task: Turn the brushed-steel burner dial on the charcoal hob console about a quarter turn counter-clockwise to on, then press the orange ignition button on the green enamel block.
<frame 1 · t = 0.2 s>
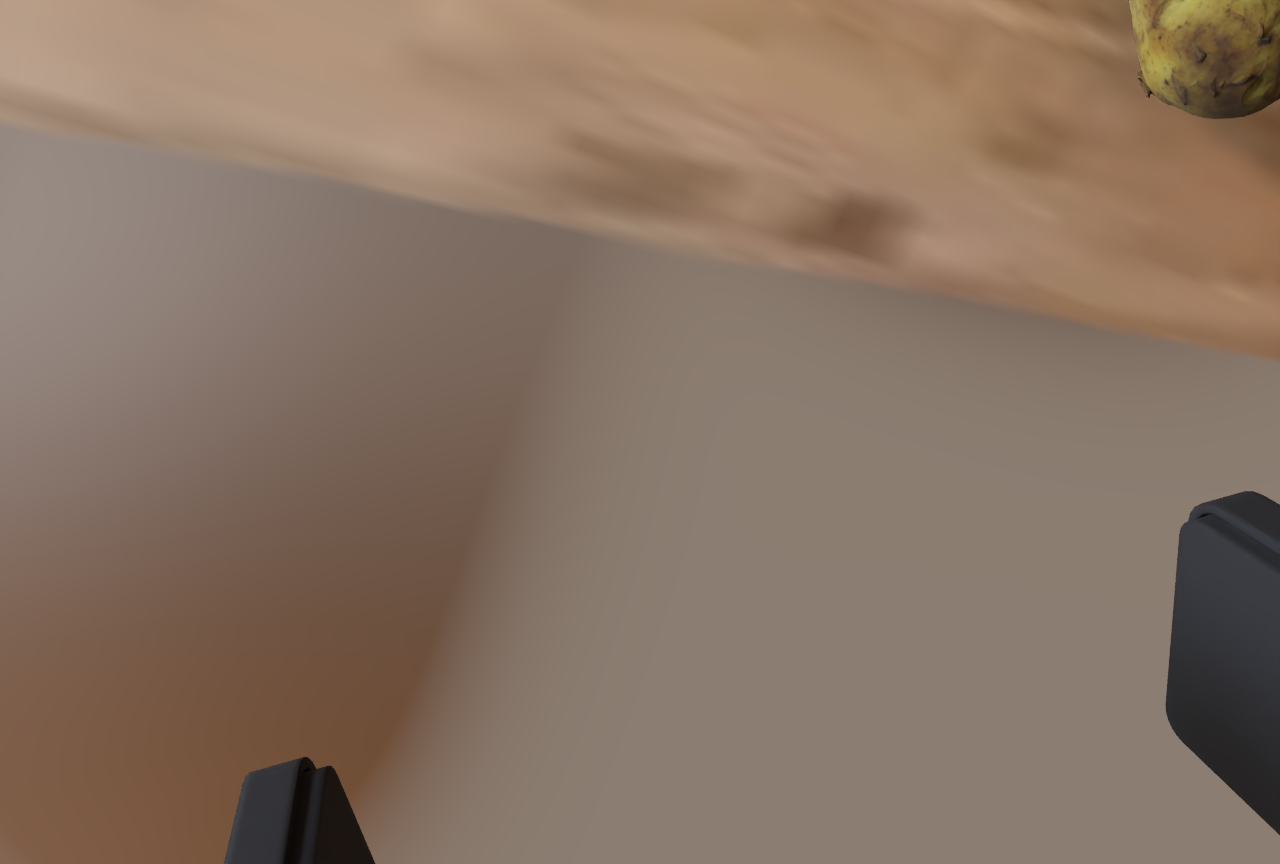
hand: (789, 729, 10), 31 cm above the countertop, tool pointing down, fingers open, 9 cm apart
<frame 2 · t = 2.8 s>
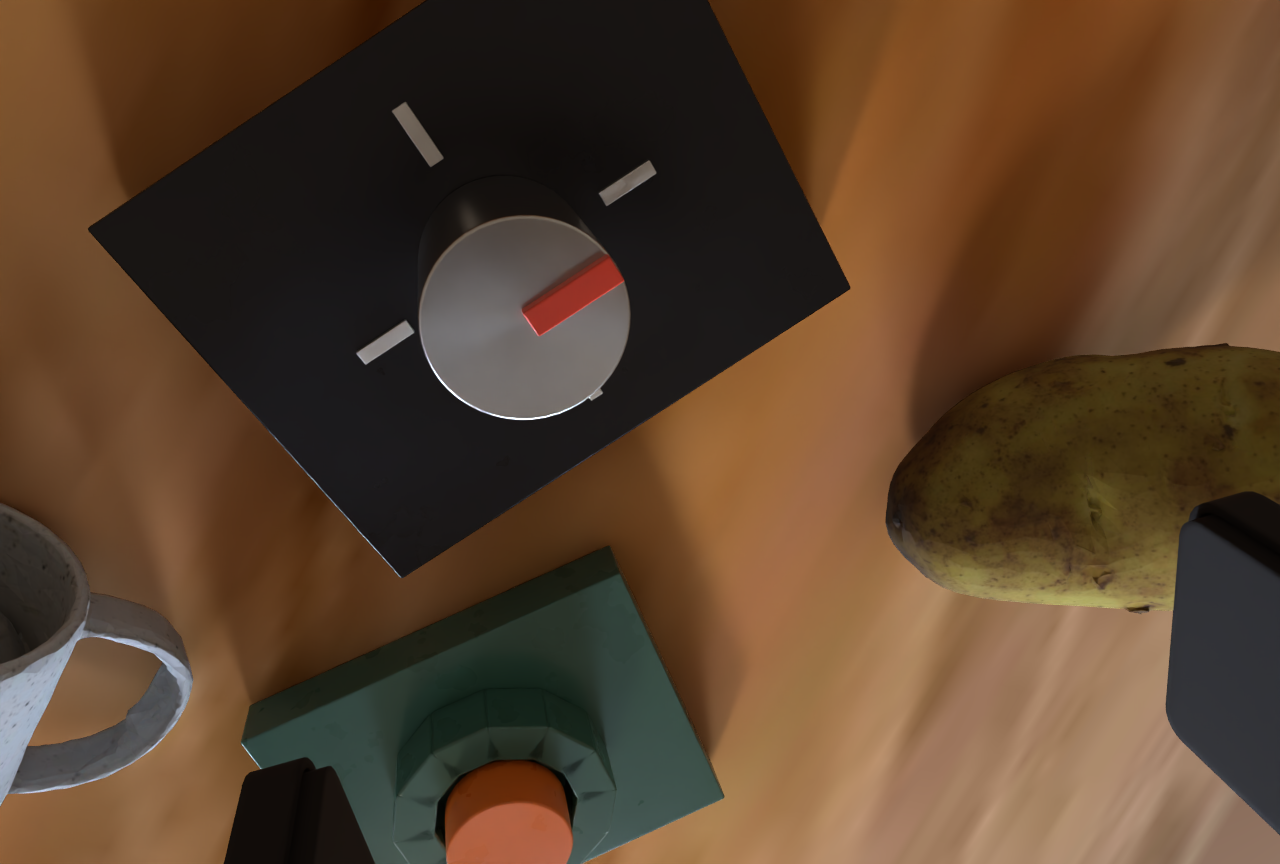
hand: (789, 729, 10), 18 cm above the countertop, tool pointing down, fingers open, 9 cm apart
hob console: (496, 236, 25), on the countertop
potato: (1048, 426, 31), on the countertop
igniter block: (498, 736, 31), on the countertop
ignite button: (508, 827, 28), point 4 cm above the countertop, slide at 0.1 cm
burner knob: (515, 290, 20), point 6 cm above the countertop, hinge at 0.0°
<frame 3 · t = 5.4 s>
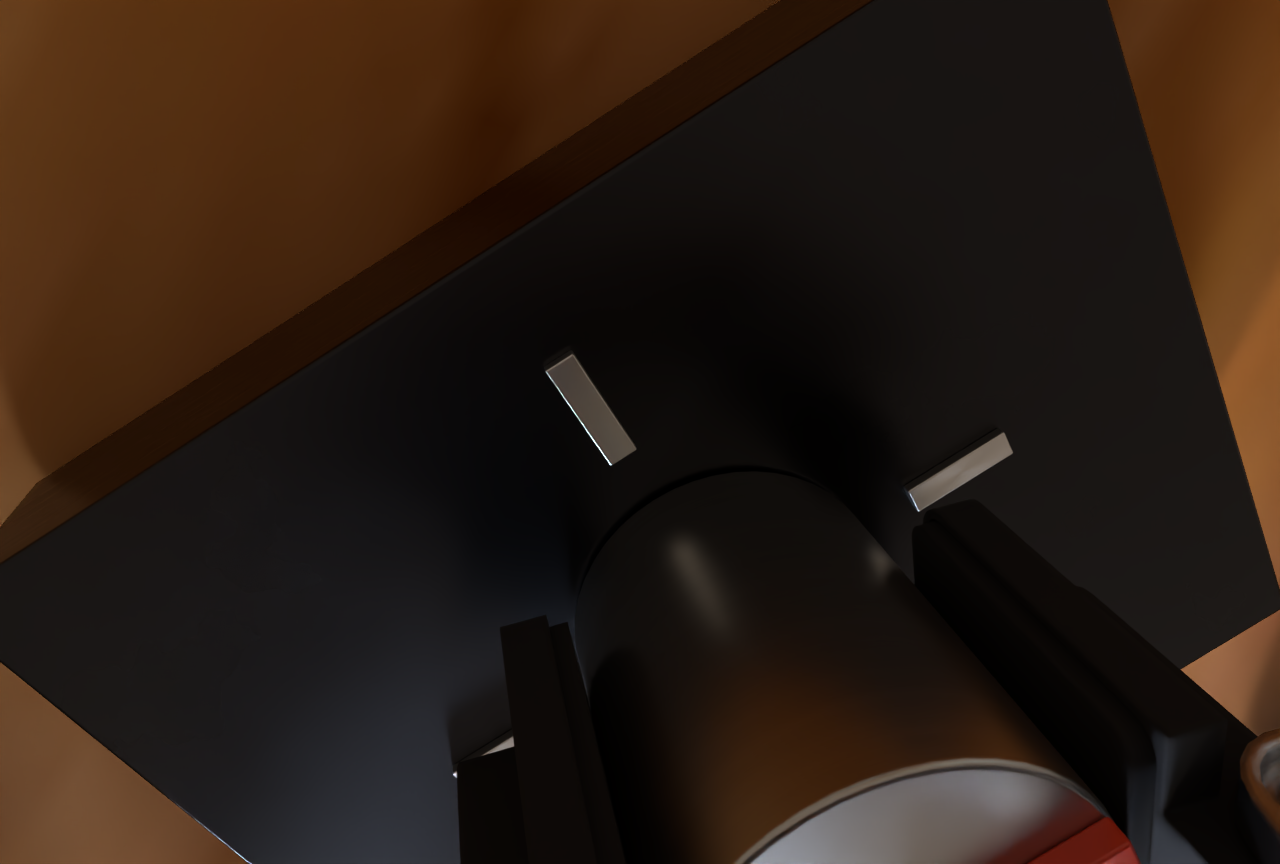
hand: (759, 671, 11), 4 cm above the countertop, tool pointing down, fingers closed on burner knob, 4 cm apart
hob console: (672, 500, 15), on the countertop
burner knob: (802, 754, 10), point 6 cm above the countertop, hinge at -0.1°, touching gripper
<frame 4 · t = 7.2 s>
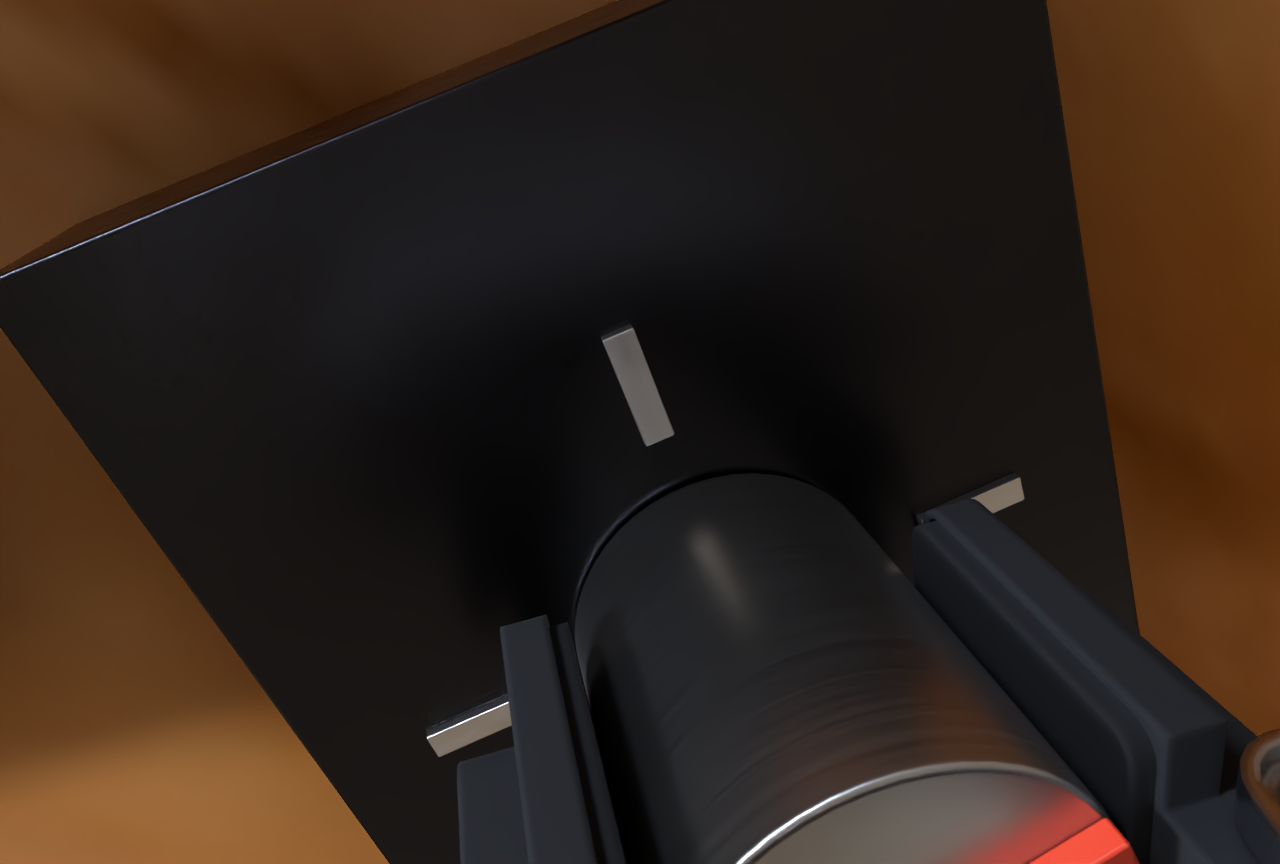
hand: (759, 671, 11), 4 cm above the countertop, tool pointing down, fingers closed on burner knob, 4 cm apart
hob console: (672, 502, 15), on the countertop
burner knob: (802, 756, 10), point 6 cm above the countertop, hinge at 100.7°, touching gripper
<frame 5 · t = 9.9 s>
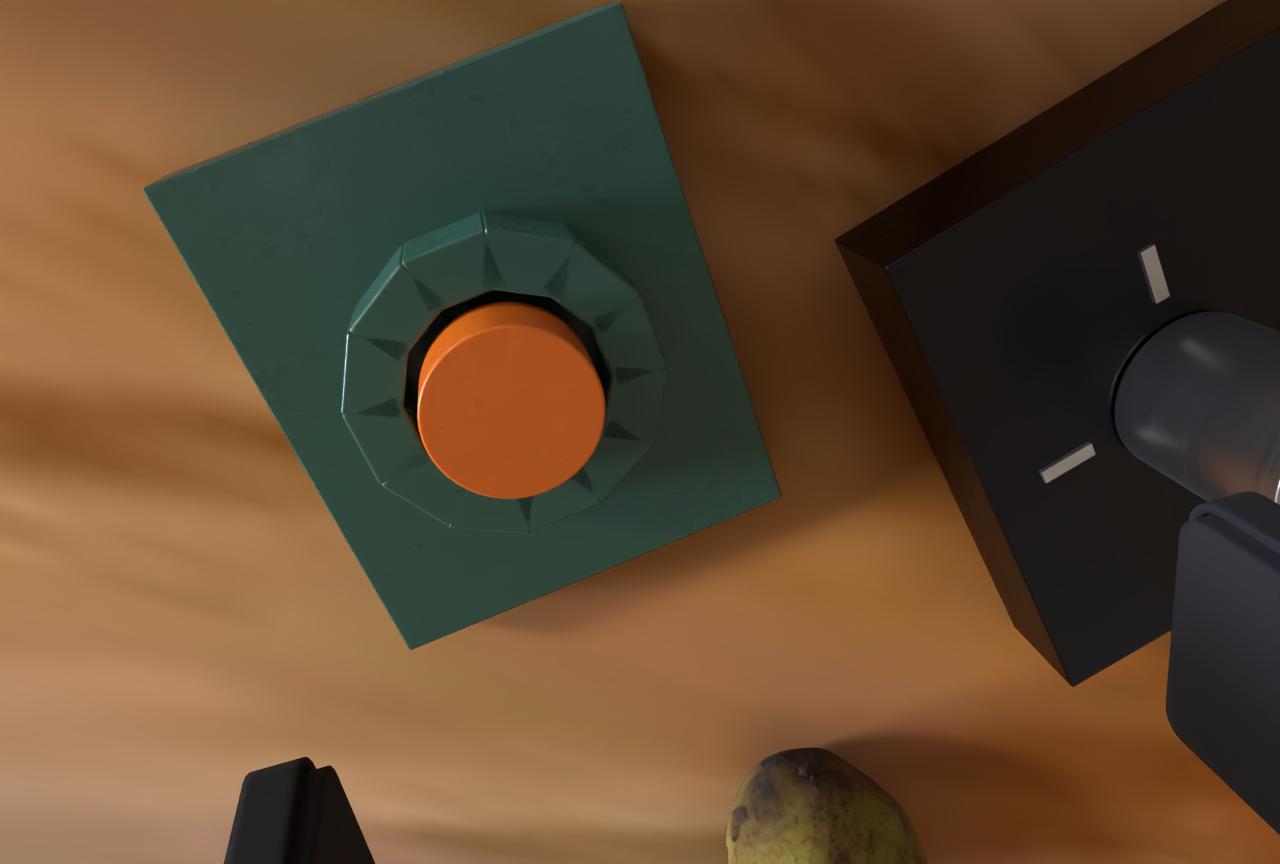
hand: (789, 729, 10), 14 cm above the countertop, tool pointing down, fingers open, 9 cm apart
hob console: (1108, 351, 26), on the countertop
potato: (802, 863, 32), on the countertop
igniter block: (499, 340, 23), on the countertop
ignite button: (510, 399, 19), point 4 cm above the countertop, slide at 0.1 cm
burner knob: (1273, 431, 21), point 6 cm above the countertop, hinge at 102.3°
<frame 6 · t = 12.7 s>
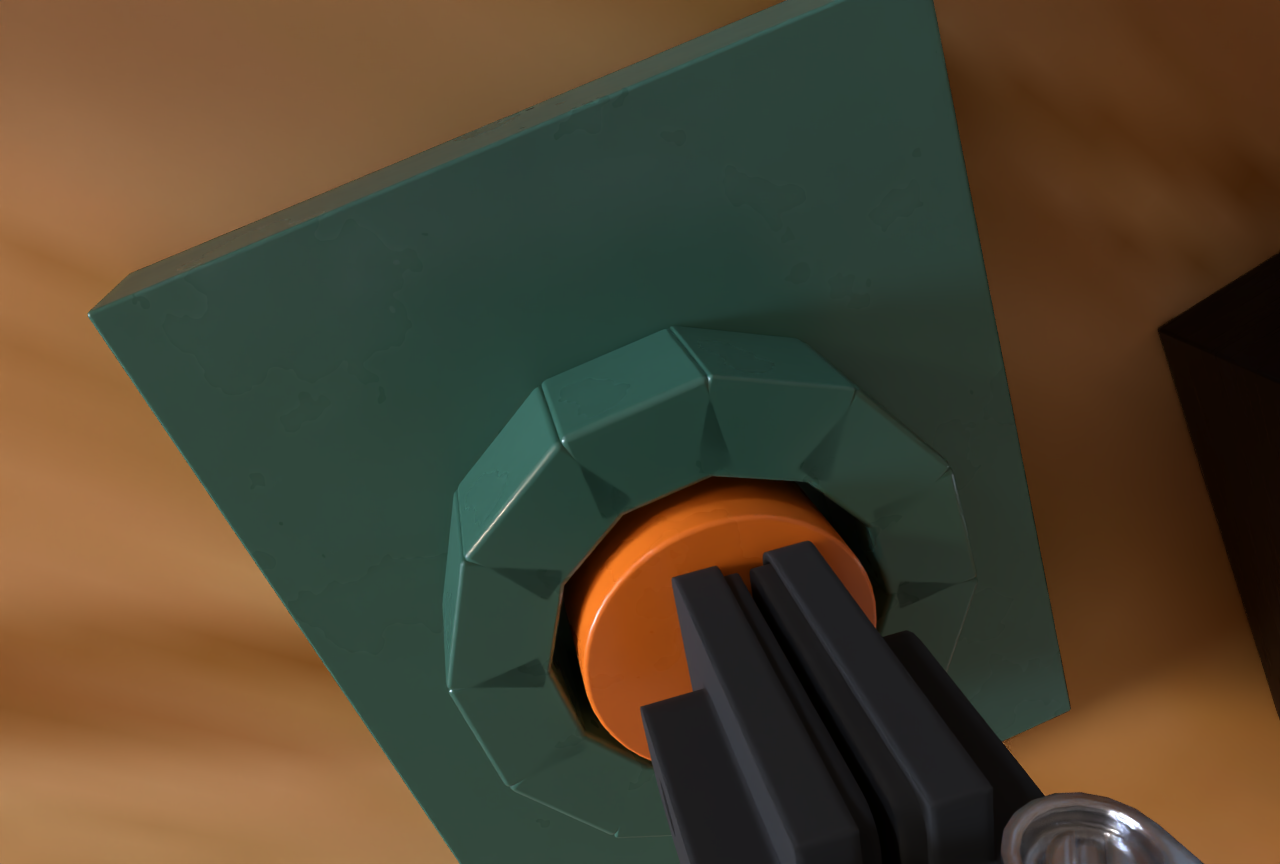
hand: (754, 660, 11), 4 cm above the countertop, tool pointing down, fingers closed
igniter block: (659, 499, 15), on the countertop
ignite button: (714, 609, 12), point 3 cm above the countertop, slide at -0.9 cm, touching gripper
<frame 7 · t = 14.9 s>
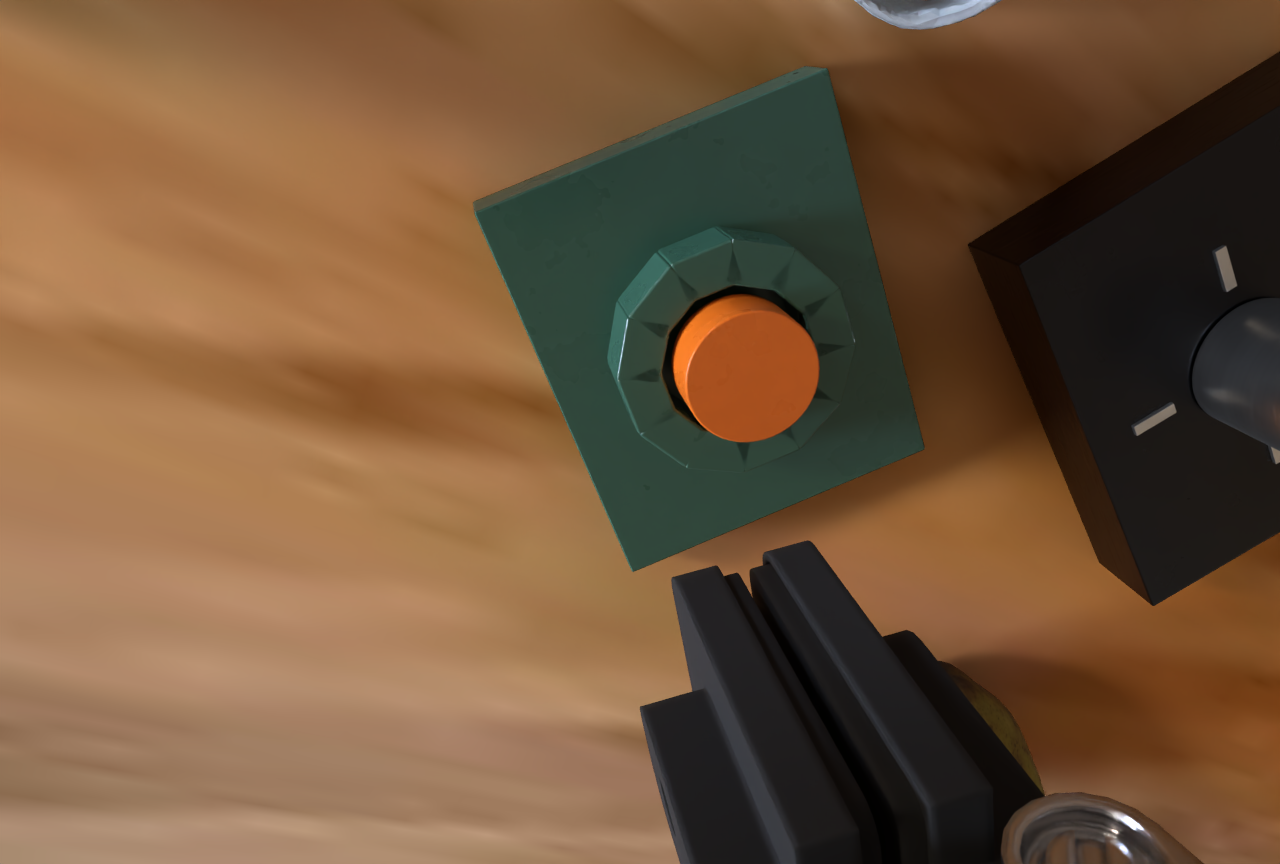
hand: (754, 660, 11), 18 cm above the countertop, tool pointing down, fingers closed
hob console: (1180, 332, 32), on the countertop
potato: (917, 766, 38), on the countertop
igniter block: (707, 325, 29), on the countertop
ignite button: (744, 367, 25), point 4 cm above the countertop, slide at 0.1 cm
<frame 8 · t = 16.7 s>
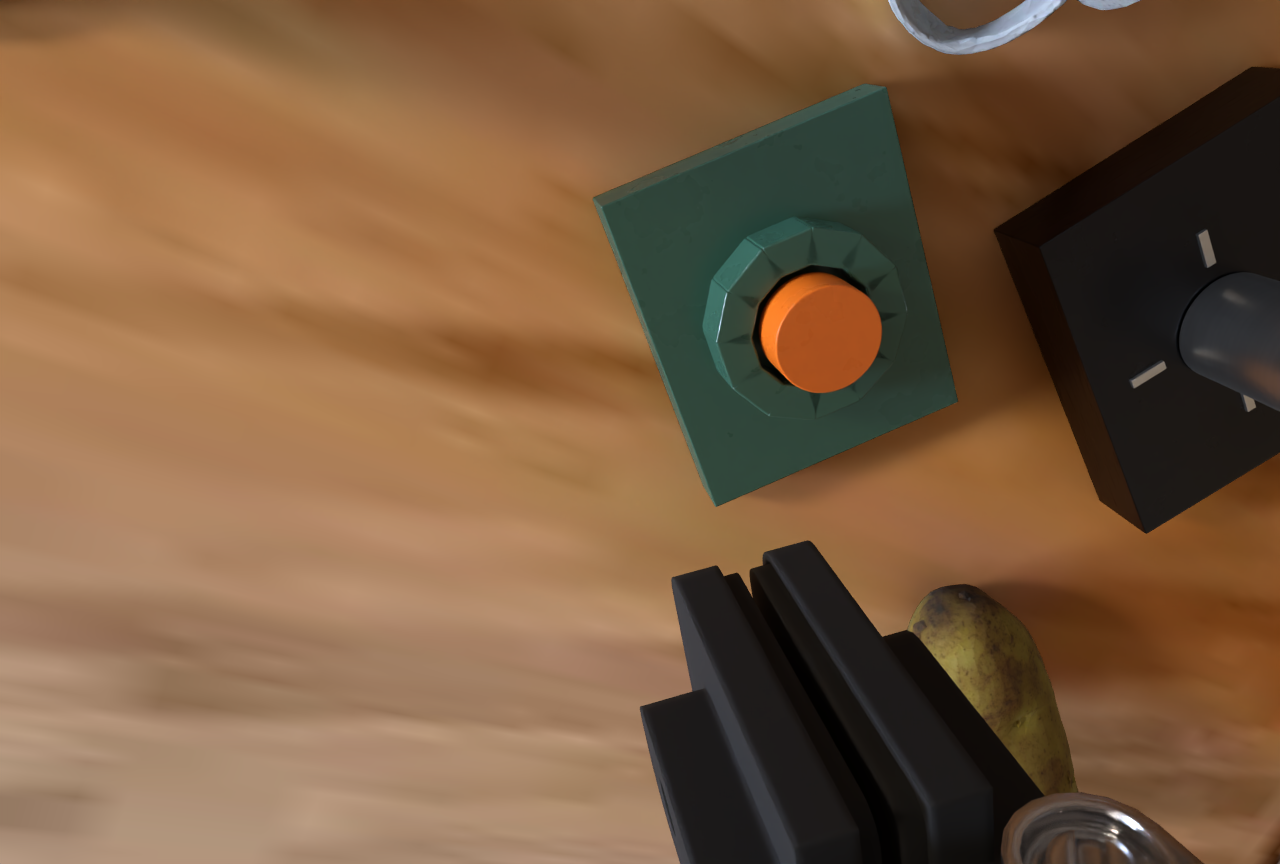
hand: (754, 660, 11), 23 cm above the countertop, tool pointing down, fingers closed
hob console: (1168, 302, 38), on the countertop
potato: (943, 680, 44), on the countertop
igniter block: (778, 299, 35), on the countertop
ignite button: (819, 332, 31), point 4 cm above the countertop, slide at 0.1 cm
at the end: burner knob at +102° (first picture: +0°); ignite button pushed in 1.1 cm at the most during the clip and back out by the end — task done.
